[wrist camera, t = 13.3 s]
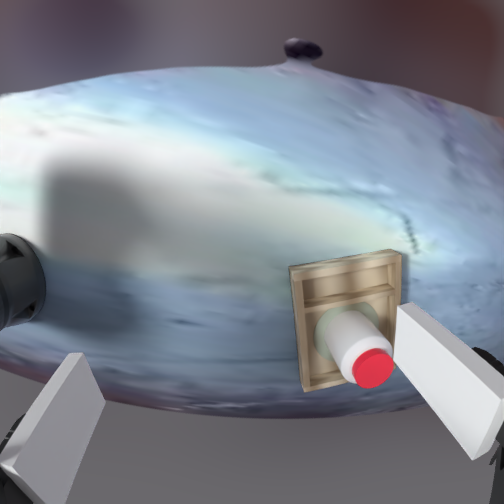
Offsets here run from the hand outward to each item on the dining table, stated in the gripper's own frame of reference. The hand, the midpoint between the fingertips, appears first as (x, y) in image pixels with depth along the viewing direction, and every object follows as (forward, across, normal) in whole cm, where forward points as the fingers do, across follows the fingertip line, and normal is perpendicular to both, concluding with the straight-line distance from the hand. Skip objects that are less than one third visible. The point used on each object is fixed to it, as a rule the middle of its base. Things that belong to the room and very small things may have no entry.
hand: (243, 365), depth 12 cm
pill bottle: (+31, +15, -19) cm, 39 cm away
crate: (+31, +15, -17) cm, 39 cm away
